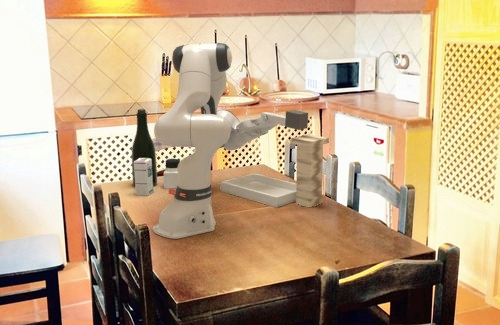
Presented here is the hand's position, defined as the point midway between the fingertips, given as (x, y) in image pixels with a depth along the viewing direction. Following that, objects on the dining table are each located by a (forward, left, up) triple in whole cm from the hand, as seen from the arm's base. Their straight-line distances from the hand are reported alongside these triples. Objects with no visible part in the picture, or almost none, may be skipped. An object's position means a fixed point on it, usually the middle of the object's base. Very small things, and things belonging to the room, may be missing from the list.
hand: (270, 116), depth 242 cm
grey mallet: (0, -7, -2) cm, 7 cm away
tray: (-2, +1, -32) cm, 32 cm away
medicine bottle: (-21, +37, -32) cm, 54 cm away
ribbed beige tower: (0, -21, -32) cm, 38 cm away
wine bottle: (-28, +48, -32) cm, 65 cm away
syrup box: (-36, +37, -32) cm, 61 cm away
